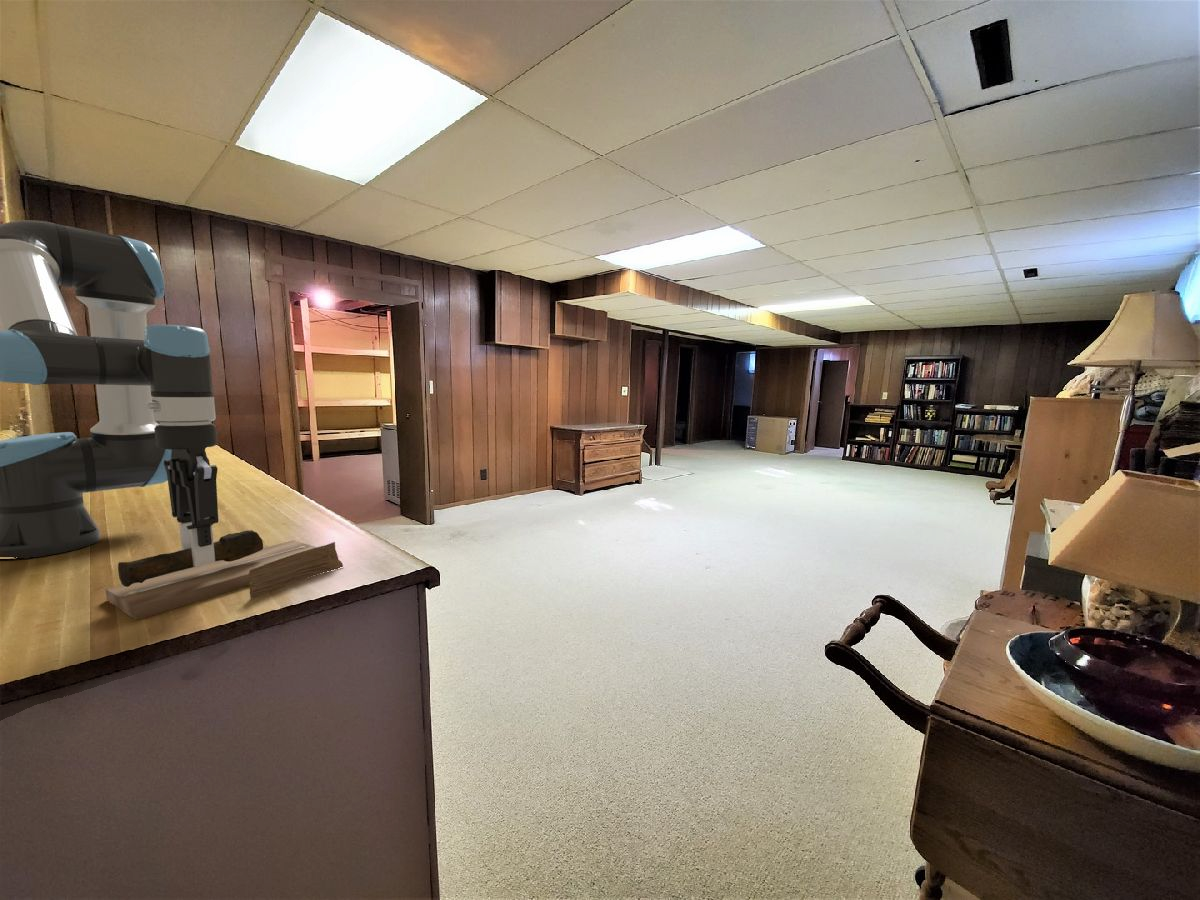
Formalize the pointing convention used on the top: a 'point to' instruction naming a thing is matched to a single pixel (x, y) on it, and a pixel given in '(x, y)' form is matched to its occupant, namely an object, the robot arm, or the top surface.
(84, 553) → the top surface
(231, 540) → the dark brown rod
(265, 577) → the wood plank
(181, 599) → the board
